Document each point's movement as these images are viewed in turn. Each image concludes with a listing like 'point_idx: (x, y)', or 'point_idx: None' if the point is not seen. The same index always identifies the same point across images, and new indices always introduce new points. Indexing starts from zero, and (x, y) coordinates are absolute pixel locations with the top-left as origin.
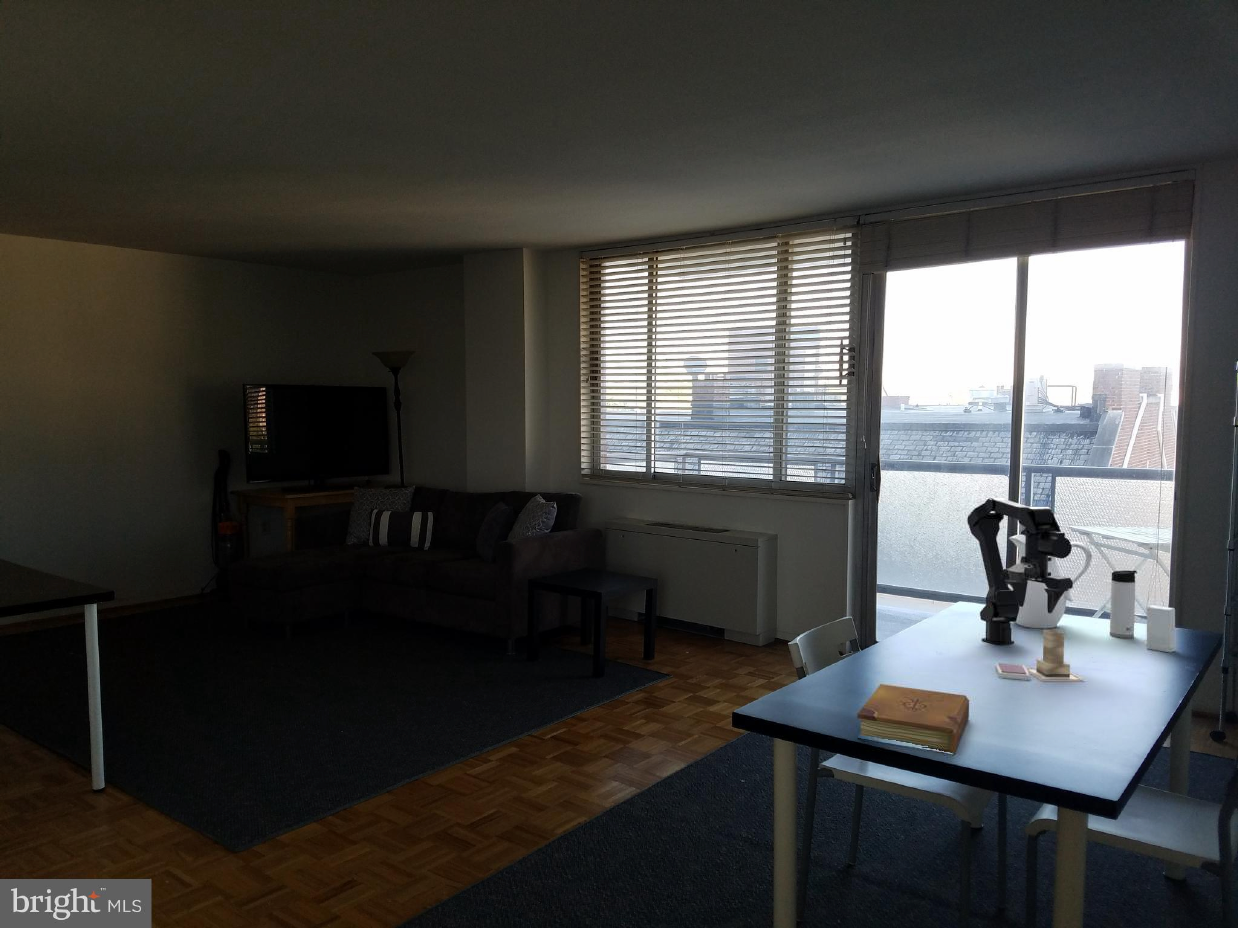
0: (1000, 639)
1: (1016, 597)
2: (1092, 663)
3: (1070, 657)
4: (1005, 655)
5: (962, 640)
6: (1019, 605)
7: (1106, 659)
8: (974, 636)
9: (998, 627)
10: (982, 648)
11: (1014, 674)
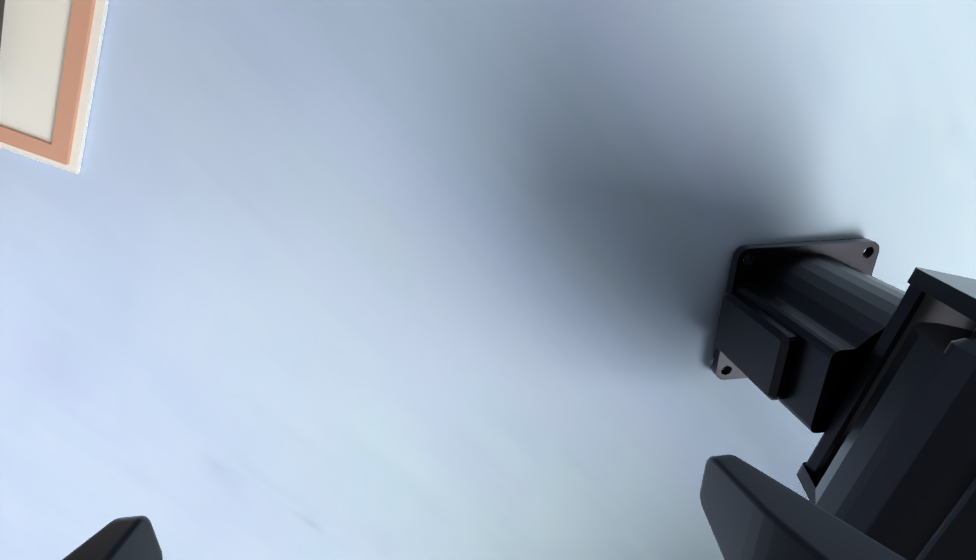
0: (762, 289)
1: (894, 554)
2: (191, 443)
3: (343, 428)
4: (542, 79)
5: (955, 122)
6: (734, 459)
7: (250, 553)
8: None
9: (837, 320)
10: (754, 78)
11: None
